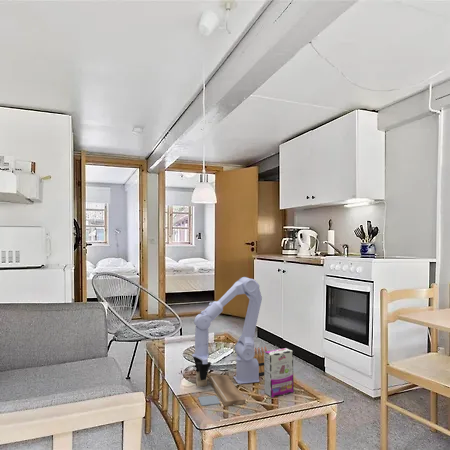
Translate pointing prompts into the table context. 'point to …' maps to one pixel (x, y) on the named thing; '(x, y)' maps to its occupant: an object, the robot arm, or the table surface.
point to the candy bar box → (278, 372)
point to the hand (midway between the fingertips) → (201, 376)
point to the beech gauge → (199, 381)
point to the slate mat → (208, 400)
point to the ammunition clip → (260, 359)
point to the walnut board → (226, 390)
